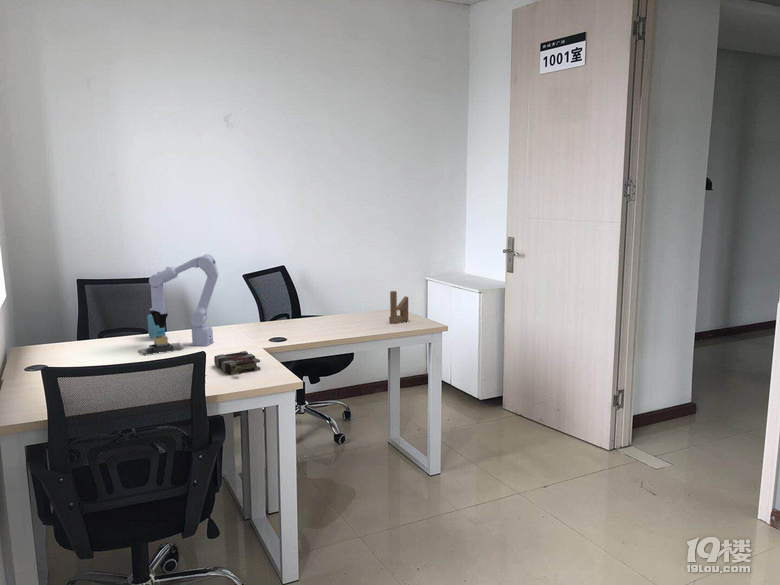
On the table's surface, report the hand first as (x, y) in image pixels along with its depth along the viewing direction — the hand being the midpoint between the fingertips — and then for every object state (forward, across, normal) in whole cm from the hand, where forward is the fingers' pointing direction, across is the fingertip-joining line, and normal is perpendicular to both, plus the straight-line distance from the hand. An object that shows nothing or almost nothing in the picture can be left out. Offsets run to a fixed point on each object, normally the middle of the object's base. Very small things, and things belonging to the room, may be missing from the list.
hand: (159, 326), depth 313 cm
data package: (+10, -17, +3) cm, 20 cm away
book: (+10, +64, +14) cm, 67 cm away
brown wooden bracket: (+10, +28, +124) cm, 127 cm away
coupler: (+9, +11, -3) cm, 14 cm away
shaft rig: (+9, +11, -3) cm, 14 cm away
